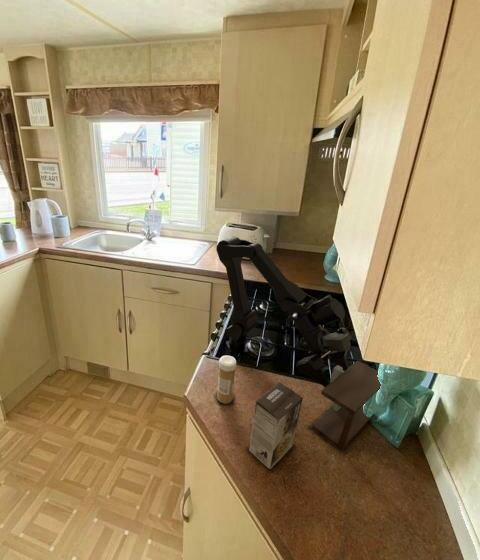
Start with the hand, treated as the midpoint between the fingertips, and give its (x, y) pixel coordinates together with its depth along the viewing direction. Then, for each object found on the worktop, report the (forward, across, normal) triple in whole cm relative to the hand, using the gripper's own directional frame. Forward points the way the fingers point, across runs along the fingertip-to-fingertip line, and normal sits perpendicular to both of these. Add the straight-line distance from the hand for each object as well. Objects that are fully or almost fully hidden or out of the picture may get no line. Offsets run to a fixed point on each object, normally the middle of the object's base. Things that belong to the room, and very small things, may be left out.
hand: (339, 382), depth 85 cm
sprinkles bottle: (-9, -23, +20) cm, 32 cm away
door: (+4, 0, +4) cm, 6 cm away
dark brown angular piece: (+9, -4, +2) cm, 10 cm away
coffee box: (+4, -26, +7) cm, 27 cm away
